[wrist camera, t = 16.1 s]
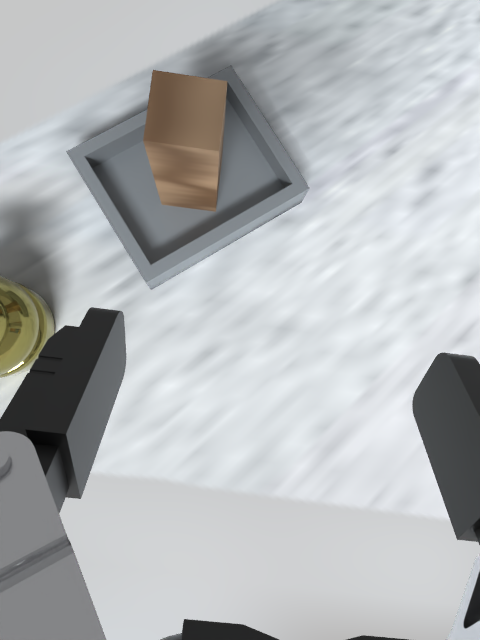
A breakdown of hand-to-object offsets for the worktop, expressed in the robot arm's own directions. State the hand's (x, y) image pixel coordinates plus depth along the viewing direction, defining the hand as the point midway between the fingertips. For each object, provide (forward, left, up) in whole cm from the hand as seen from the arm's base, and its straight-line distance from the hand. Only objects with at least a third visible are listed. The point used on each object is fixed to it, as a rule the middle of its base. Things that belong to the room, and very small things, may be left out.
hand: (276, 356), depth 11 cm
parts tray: (+5, -15, -24) cm, 28 cm away
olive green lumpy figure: (+18, -1, -24) cm, 30 cm away
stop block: (+5, -14, -23) cm, 28 cm away
